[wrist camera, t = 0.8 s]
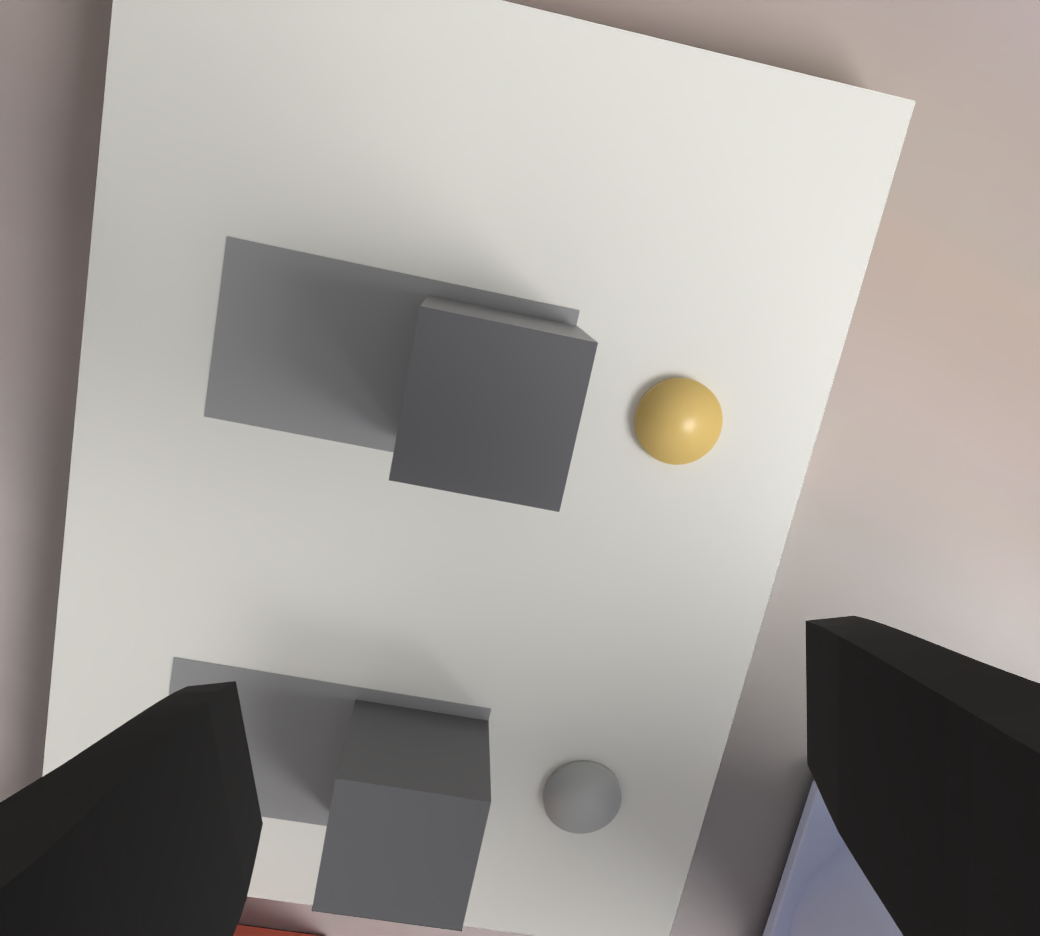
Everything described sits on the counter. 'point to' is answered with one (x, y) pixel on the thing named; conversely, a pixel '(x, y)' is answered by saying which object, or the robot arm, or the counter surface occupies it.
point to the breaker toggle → (492, 403)
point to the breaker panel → (375, 418)
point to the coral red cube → (264, 932)
